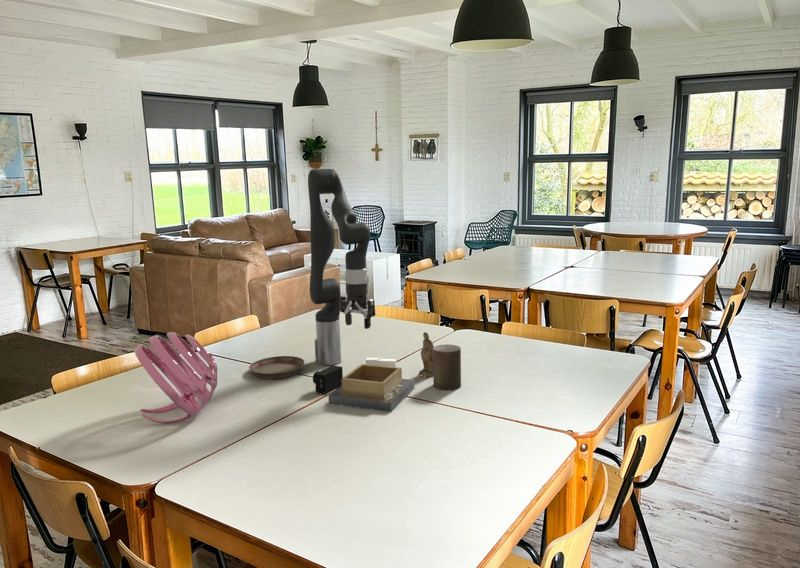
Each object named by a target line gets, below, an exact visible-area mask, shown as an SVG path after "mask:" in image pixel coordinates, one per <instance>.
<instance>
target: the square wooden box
mask: <svg viewBox="0 0 800 568" xmlns="http://www.w3.org/2000/svg"><path fill="white" fill-rule="evenodd" d="M341 380H342V385H341V386H340V387H339V388H337V389H335V390H333V391H331V392H330V394H328V396H327V397H328V405H332V404H334V406H340V405H342V406H341V407H348V406H349V408H350V406H351V408H356V407H358V408H357V409H364V408H366V409H365V410H372V409H373V410H372V411H380V410H381V411H380V412H382V411H383V412H388V411H389V412H390V413H391V412H393V411H394V410H395V409H396V408H397V407H398V406H399V405H400V404H401V403H402V402H403V401H404V400H405V399H404V398H406V397H407V396H408V395H409V394H410V393H411V392H412V391H413V390H415V389H416V388H415V379H408V378H403V373H402V367H387V366H377V365H367V364H366V363H365V364H364V363H361V364H360V365H358V366H357V367H355V368H354V369H352V371H350V372H348V374H346V375H344V376H343V378H342V379H341ZM403 399H404V400H403ZM402 400H403V401H402ZM401 401H402V402H401ZM400 402H401V403H400ZM399 403H400V404H399ZM398 404H399V405H398Z"/></svg>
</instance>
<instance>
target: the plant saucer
mask: <svg viewBox="0 0 800 568" xmlns="http://www.w3.org/2000/svg"><path fill="white" fill-rule="evenodd" d="M304 364H305V360H304V359H303V358H302V357H298V356H293V355H280V356H279V355H277V356H270V357H266V358H265V357H264V358H262V359H258V360H256V361H254V362H252V363H250V365H249V367H248V369H249V370H250V372H251V373H252V374H253V375H255V376H256V377H259V378H261V379H267V378H269V380H270V379H274V378H276V379H282V378H283V377H284V378H288V377H291V376H293V375H296V374H297V373H299V372H300V371H301V369H302V368H303V366H304ZM274 380H275V379H274Z"/></svg>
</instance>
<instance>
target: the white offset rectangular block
mask: <svg viewBox="0 0 800 568" xmlns="http://www.w3.org/2000/svg"><path fill="white" fill-rule="evenodd" d="M365 364H367V365H377V366H387V367H397V366H398V365H397V359H396V358H395V359H394V358H381V357H366V358H365ZM397 368H398V367H397Z"/></svg>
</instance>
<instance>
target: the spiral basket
mask: <svg viewBox="0 0 800 568" xmlns="http://www.w3.org/2000/svg"><path fill="white" fill-rule="evenodd" d="M166 336H167V337H168V339H169V340H170V342H171V344H172V345H173V346H174V347H175V348H173V346H172V345H170V344H169V343H168V341H166V340H165V339H164V338H163V337H161V336H160V335H158V334H157V335H152V336H151V337H149V338H148V341H149V344H150V345H151V347H152V348H153V350H154V351H155V352H156V353H155V352H154V351H153V350H152V349H151V348H149V347H148V346H146V345H145V344H142V343H140V344H138V345H137V346H136V347H135V348H134V351H133V352H134V355H135V357H136V358H137V360H138V362H139V363H140V365H141V366H142V367H143V369H144V370H145V371H146V373H147V374H148V375H149V376H150V378H151V379H152V380H153V382H154V383H155V384H156V385H157V386H158V387H159V388H160V389H161V390H162V392H163V393H164V394H165V395H166V396H167V397H168V398H169V399H170V400H171V401H172V403H170V404H168V405H164V406H162V407H158V408H154V409H153V408H151V409H150V408H148V409H146V408H145V409H144V408H141V409H140V410H139V412H141V413H140V416H142V417H143V418H144V419H147V420H149V421H151V422H155V423H158V424H174V423H180V422H183V421H185V420H187V419H191V418H192V417H195V416H196V415H198V414H199V413H200V412H201V410H203V409H204V408H205V406H206V405H208V404H209V403H210V402H211V400H212V397H213V395H214V392H215V389H216V388H217V386H218V365H217V362H216V360H215V357H214V356H213V353H212V352H208V351H207V350H206V349H205V348H204V346H203V345H202V344H201V343H200V342H199V341H198V340H197V339H196V338H195V337H194V336H192V335H190V334H184V337H185V339H186V340H187V341H188V342H186V341H185V340H184V338H182V337H181V335H180V334H178V333H176V332H174V331H169V332H167V333H166ZM189 344H190V345H189ZM191 346H192V347H193V348H192V347H191ZM176 350H177V351H176ZM178 352H179V353H178ZM204 361H205V362H206V363H205V362H204ZM155 366H156V367H157V368H156V367H155ZM157 369H159V370H157ZM160 372H161V373H162V374H163V375H164V376H165V377H166V378H167V379H168V380H169V382H170V383H171V384H172V385H173V386H174V387H175V389H176V390H177V391H178V392H177V391H176V390H175V389H174V388H173V387H172V386H171V384H170V383H169V382H168V381H167V380H166V379H165V378H164V376H162V374H161V373H160ZM207 384H208V385H209V386H210V387H211V388H210V390H209V388H208V387H207ZM179 393H180V394H179ZM196 398H197V399H198V400H199V401H200V402H201V404H200V405H199V404H198V402H197V400H196ZM177 408H180V409H181V410H182V411H183V412H185V413H186V415H185V416H183V417H182V416H181V417H178V418H175V419H158V418H154V417H151V416H149V415H147V414H145V413H149V414H157V413H164V412H168V411H172V410H175V409H177Z"/></svg>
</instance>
